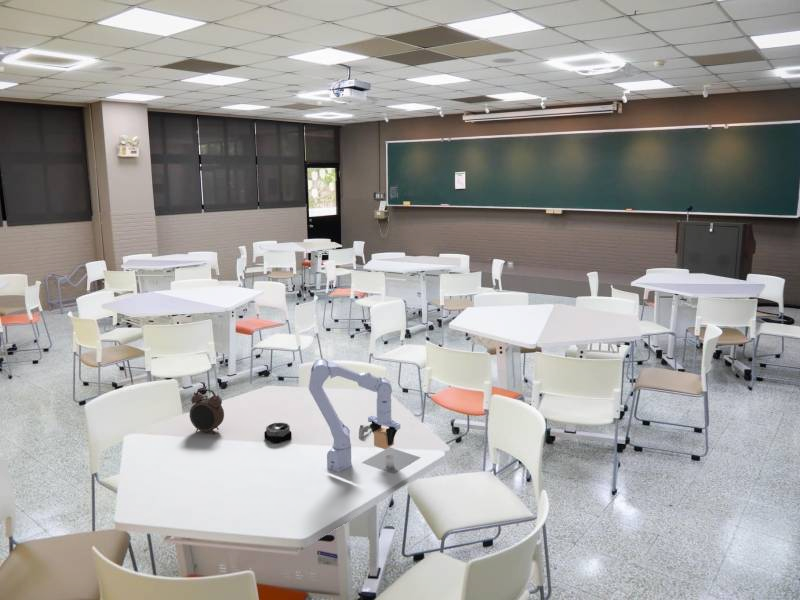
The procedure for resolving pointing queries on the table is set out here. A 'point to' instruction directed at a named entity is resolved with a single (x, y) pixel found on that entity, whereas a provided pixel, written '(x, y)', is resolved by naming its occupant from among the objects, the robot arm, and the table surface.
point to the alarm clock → (206, 411)
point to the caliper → (363, 430)
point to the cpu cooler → (277, 433)
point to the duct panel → (398, 460)
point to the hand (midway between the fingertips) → (384, 442)
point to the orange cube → (381, 438)
